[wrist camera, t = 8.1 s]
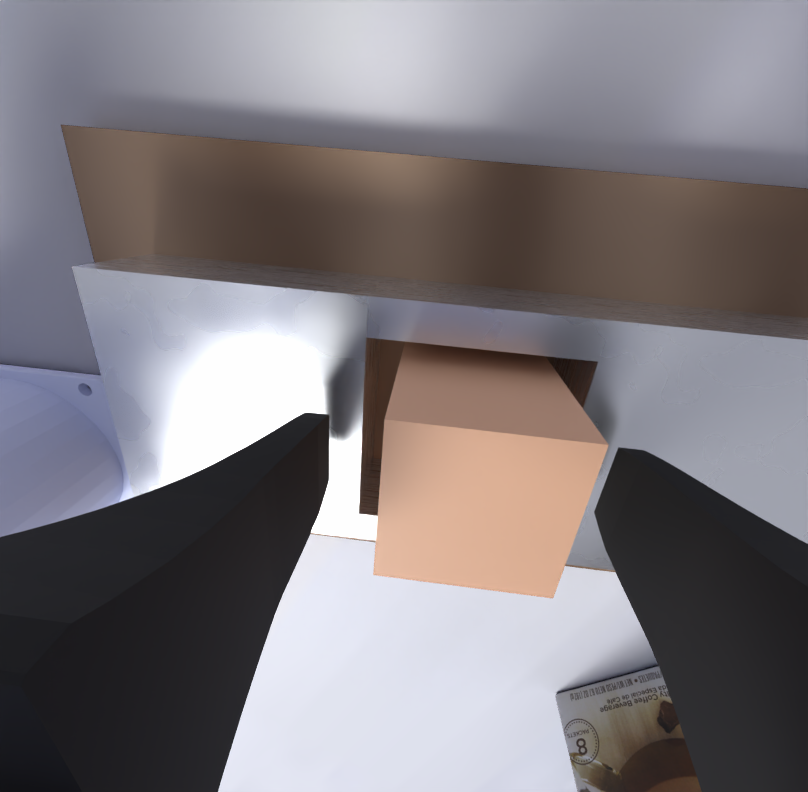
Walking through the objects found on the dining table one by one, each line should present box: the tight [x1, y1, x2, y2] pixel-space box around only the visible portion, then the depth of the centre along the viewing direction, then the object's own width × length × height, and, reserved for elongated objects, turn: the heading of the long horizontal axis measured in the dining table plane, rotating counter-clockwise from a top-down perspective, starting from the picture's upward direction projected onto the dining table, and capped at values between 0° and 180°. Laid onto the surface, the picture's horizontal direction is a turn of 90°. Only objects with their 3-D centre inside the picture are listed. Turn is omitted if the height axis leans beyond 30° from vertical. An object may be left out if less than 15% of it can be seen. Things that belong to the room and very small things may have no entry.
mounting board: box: [61, 125, 808, 572], centre depth 14 cm, size 24×14×1 cm, turn 85°
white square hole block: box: [72, 254, 808, 570], centre depth 12 cm, size 20×8×3 cm, turn 85°
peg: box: [373, 342, 609, 598], centre depth 11 cm, size 4×4×6 cm
